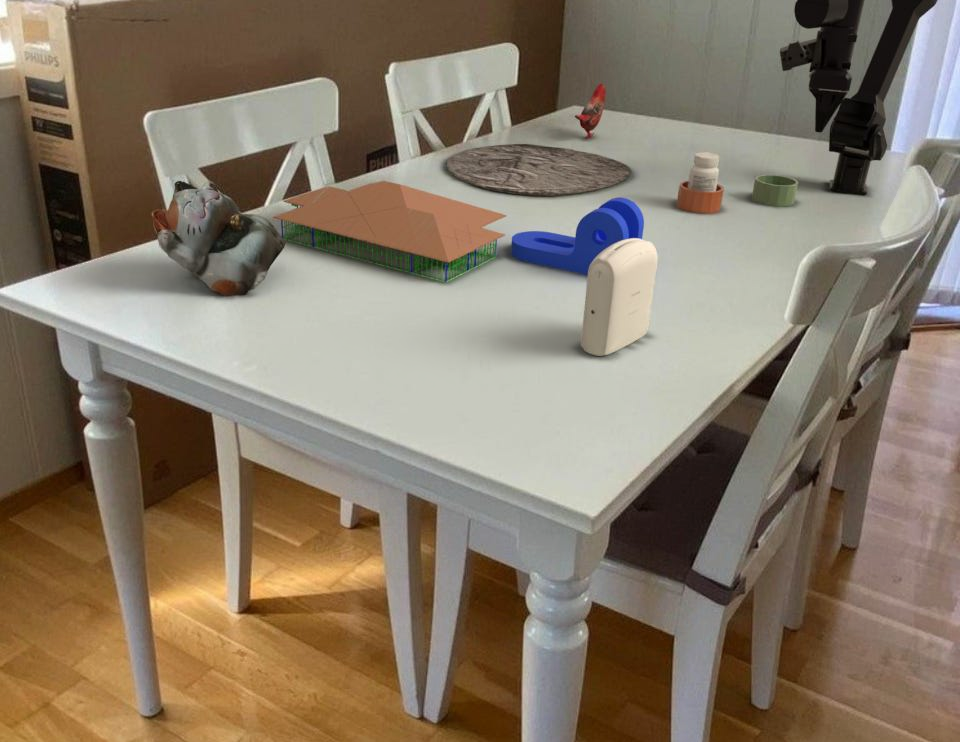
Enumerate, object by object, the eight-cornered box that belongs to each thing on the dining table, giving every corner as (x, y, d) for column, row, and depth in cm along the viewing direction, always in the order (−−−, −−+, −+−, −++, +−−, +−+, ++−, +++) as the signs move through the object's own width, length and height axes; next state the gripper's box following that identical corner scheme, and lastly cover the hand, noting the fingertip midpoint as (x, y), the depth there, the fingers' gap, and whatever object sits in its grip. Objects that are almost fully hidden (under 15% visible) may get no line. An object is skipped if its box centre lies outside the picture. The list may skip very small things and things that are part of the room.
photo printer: (604, 360, 118) (617, 256, 111) (574, 349, 120) (585, 246, 114) (652, 336, 125) (666, 236, 118) (622, 326, 127) (635, 228, 120)
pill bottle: (689, 200, 176) (697, 150, 172) (716, 204, 174) (725, 154, 170) (681, 206, 172) (689, 155, 168) (709, 211, 171) (717, 160, 166)
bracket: (638, 264, 147) (647, 202, 142) (618, 281, 141) (626, 216, 136) (525, 241, 153) (529, 180, 149) (501, 256, 147) (504, 193, 142)
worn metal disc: (413, 178, 180) (413, 175, 180) (487, 139, 208) (487, 137, 207) (595, 206, 170) (595, 204, 170) (646, 161, 198) (647, 159, 198)
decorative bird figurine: (606, 132, 218) (611, 83, 213) (578, 149, 205) (583, 96, 199) (593, 130, 219) (598, 81, 214) (565, 147, 205) (569, 94, 200)
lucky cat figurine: (246, 304, 127) (179, 207, 119) (183, 319, 134) (116, 229, 126) (304, 238, 136) (245, 144, 128) (242, 256, 143) (182, 167, 135)
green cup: (752, 192, 183) (756, 172, 181) (794, 197, 181) (798, 177, 180) (750, 203, 177) (754, 182, 175) (793, 208, 175) (797, 187, 174)
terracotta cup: (679, 198, 177) (682, 178, 175) (721, 204, 176) (725, 183, 174) (674, 210, 171) (677, 189, 169) (718, 215, 170) (722, 194, 168)
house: (354, 201, 167) (354, 149, 163) (531, 242, 153) (535, 188, 149) (259, 235, 150) (255, 179, 146) (447, 285, 136) (449, 225, 132)
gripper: (789, 14, 172) (771, 111, 181) (786, 27, 157) (767, 132, 165) (858, 19, 170) (836, 117, 178) (862, 34, 155) (838, 140, 163)
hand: (818, 126), depth 171 cm, fingers open, 9 cm apart
